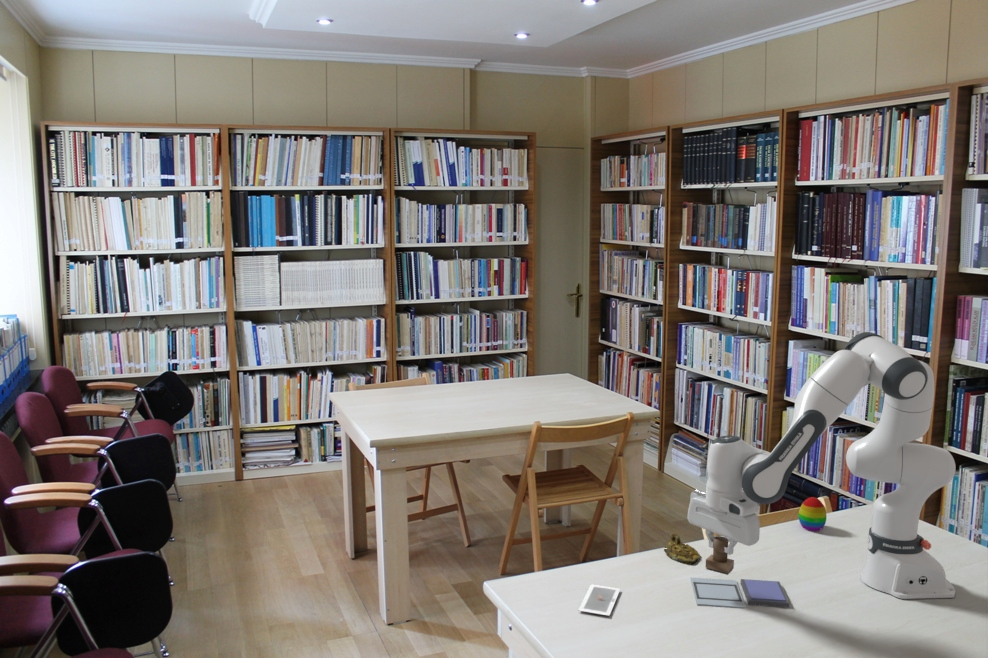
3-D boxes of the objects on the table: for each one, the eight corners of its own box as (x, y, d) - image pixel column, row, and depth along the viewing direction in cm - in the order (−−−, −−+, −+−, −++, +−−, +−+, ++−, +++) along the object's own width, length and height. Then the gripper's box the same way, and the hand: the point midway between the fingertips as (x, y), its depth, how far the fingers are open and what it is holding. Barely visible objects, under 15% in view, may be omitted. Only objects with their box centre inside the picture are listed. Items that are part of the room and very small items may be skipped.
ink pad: (779, 585, 214) (779, 580, 214) (789, 607, 203) (789, 601, 202) (740, 583, 216) (740, 578, 215) (748, 604, 204) (748, 599, 204)
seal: (707, 568, 228) (684, 546, 243) (710, 552, 227) (686, 531, 242) (677, 567, 226) (655, 545, 240) (679, 551, 225) (658, 530, 240)
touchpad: (578, 614, 199) (578, 606, 199) (590, 588, 213) (591, 580, 213) (609, 619, 197) (609, 611, 197) (620, 592, 211) (620, 585, 211)
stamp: (733, 570, 208) (735, 539, 207) (728, 575, 204) (730, 544, 203) (710, 564, 211) (712, 533, 210) (705, 569, 208) (707, 538, 207)
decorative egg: (823, 534, 249) (825, 503, 247) (795, 529, 253) (797, 499, 251) (827, 526, 256) (829, 496, 254) (800, 521, 260) (802, 491, 258)
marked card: (735, 581, 217) (735, 579, 217) (745, 608, 202) (745, 606, 202) (690, 578, 218) (690, 577, 218) (696, 604, 204) (696, 603, 204)
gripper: (683, 489, 212) (681, 540, 214) (748, 512, 195) (745, 566, 197) (699, 485, 215) (696, 534, 217) (764, 507, 199) (761, 560, 201)
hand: (720, 550), depth 207 cm, fingers closed on stamp, 4 cm apart
